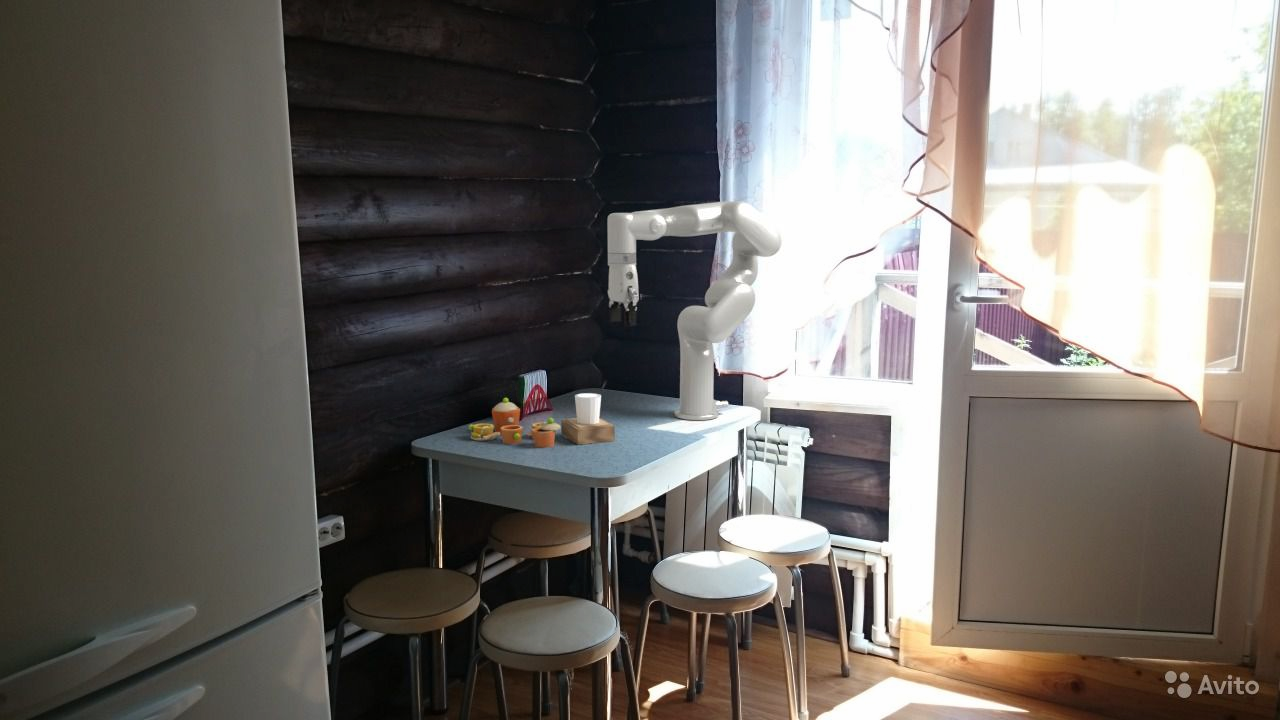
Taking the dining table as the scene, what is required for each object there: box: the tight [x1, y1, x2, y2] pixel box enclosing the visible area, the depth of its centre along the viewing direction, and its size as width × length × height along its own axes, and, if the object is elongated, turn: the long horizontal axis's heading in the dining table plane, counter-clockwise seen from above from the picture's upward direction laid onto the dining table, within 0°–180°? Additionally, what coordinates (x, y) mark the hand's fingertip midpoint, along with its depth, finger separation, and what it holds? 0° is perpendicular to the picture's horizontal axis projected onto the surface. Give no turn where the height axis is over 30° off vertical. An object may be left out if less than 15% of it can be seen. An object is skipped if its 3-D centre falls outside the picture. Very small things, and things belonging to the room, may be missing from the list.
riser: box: [560, 417, 616, 446], centre depth 237 cm, size 10×12×4 cm
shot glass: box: [574, 392, 602, 424], centre depth 236 cm, size 7×7×7 cm
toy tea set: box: [468, 397, 561, 448], centre depth 236 cm, size 26×16×10 cm, turn 64°
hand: (622, 323), depth 247 cm, fingers open, 9 cm apart
